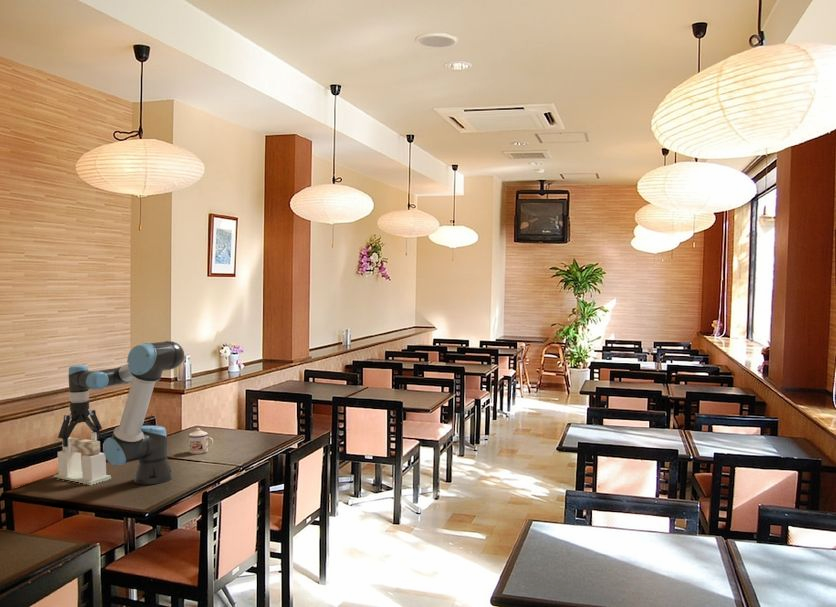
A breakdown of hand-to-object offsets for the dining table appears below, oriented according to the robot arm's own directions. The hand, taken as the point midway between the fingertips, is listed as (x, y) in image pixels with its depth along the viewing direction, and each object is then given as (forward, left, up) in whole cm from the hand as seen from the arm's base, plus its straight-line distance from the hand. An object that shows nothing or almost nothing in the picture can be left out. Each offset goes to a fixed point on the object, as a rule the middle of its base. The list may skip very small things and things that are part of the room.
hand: (81, 450), depth 301 cm
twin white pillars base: (0, 0, -12) cm, 12 cm away
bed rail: (0, 0, -4) cm, 4 cm away
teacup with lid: (-14, -56, -13) cm, 59 cm away
